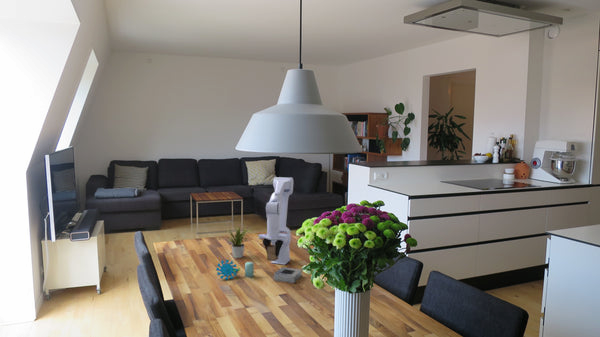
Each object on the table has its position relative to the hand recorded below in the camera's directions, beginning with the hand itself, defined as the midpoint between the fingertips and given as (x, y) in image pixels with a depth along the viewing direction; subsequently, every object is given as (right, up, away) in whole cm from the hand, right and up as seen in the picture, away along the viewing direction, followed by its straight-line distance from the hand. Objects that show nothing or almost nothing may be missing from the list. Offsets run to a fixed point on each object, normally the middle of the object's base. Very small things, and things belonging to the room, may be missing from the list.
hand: (273, 254), depth 207 cm
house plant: (-19, -6, +26) cm, 33 cm away
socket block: (+7, -10, -4) cm, 13 cm away
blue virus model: (-21, -10, -4) cm, 23 cm away
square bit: (0, -2, 0) cm, 2 cm away
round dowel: (-11, -10, -1) cm, 15 cm away
